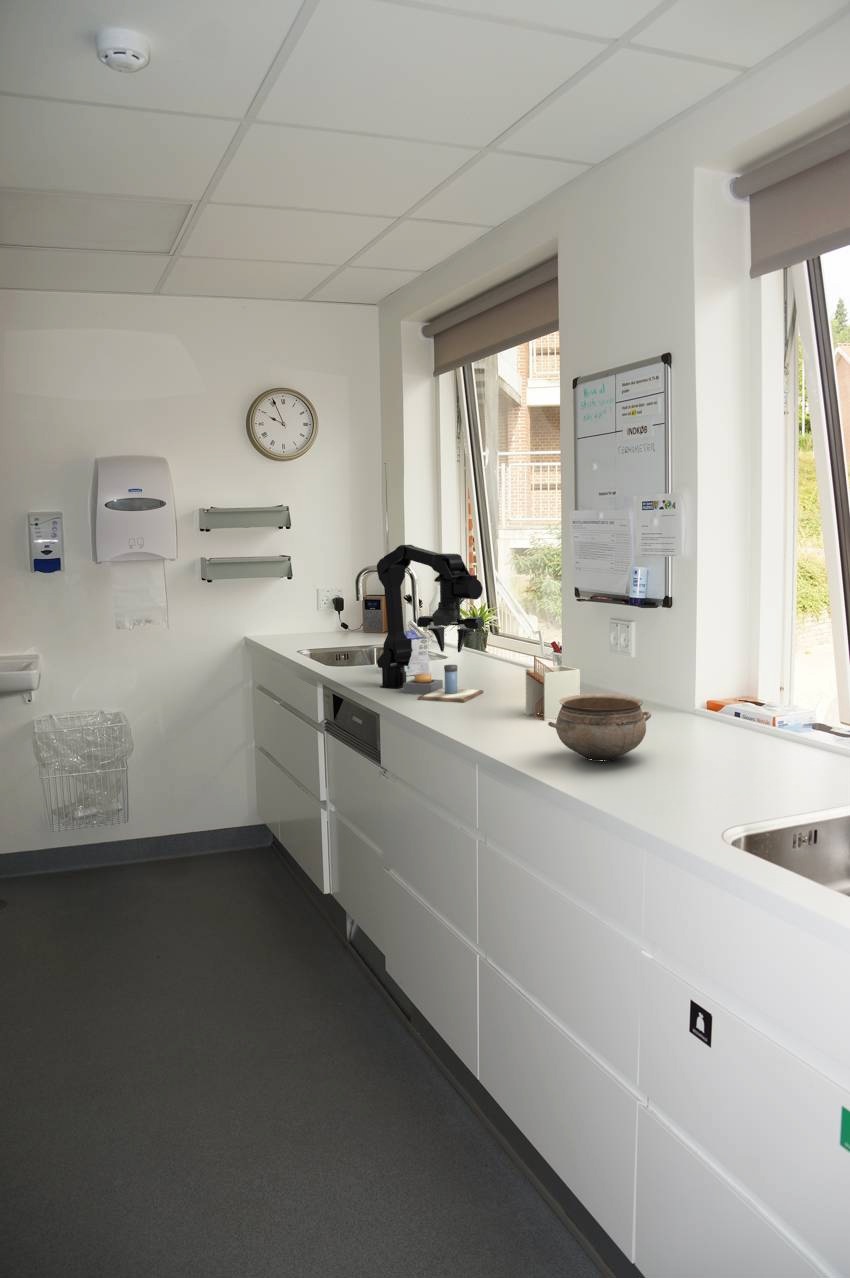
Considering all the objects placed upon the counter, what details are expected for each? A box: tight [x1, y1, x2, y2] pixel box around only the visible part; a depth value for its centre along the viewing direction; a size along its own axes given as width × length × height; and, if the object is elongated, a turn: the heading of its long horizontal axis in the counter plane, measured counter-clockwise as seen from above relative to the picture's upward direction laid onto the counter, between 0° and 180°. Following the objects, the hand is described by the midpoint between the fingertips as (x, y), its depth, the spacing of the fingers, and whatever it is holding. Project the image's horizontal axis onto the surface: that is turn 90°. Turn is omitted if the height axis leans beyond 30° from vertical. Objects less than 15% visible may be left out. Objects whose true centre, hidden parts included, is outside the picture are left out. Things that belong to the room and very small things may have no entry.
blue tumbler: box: [443, 664, 458, 694], centre depth 285 cm, size 4×4×8 cm
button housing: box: [402, 678, 444, 695], centre depth 294 cm, size 9×9×3 cm
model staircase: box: [525, 654, 581, 721], centre depth 255 cm, size 9×11×17 cm
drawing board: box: [417, 687, 484, 703], centre depth 285 cm, size 14×16×1 cm
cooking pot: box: [547, 693, 652, 762], centre depth 210 cm, size 25×19×12 cm
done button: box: [414, 673, 432, 683], centre depth 294 cm, size 5×5×2 cm
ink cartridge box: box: [404, 630, 430, 677], centre depth 326 cm, size 10×6×14 cm, turn 115°
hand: (450, 651), depth 284 cm, fingers open, 5 cm apart
